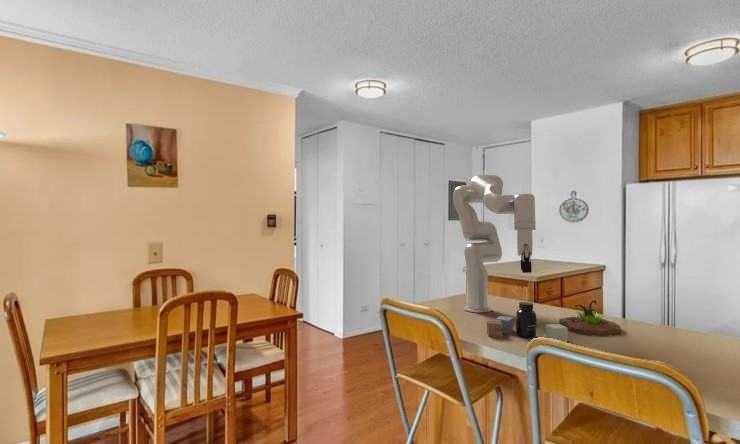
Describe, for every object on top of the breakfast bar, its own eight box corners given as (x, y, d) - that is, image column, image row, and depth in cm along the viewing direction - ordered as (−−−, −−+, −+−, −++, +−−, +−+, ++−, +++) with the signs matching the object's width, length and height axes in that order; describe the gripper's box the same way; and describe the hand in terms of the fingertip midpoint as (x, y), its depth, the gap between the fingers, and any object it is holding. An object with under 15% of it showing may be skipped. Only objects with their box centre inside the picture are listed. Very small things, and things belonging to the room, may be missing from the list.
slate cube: (500, 328, 153) (499, 315, 153) (513, 330, 150) (513, 317, 150) (496, 331, 149) (496, 318, 149) (509, 333, 146) (509, 320, 146)
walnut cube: (486, 332, 148) (486, 319, 148) (500, 333, 147) (500, 320, 147) (488, 336, 143) (488, 323, 143) (502, 337, 142) (502, 323, 142)
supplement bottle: (533, 339, 138) (533, 306, 138) (513, 336, 142) (513, 303, 142) (538, 335, 144) (538, 302, 144) (519, 331, 148) (519, 300, 148)
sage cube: (546, 338, 140) (546, 324, 140) (559, 337, 140) (559, 323, 140) (554, 342, 135) (553, 328, 135) (567, 342, 135) (567, 327, 135)
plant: (632, 337, 141) (632, 306, 141) (578, 337, 142) (577, 306, 141) (601, 322, 161) (601, 295, 161) (553, 322, 162) (553, 295, 161)
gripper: (513, 226, 158) (514, 268, 158) (515, 226, 142) (516, 273, 142) (533, 226, 156) (534, 268, 156) (537, 226, 140) (538, 274, 139)
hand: (526, 271), depth 149 cm, fingers open, 9 cm apart
